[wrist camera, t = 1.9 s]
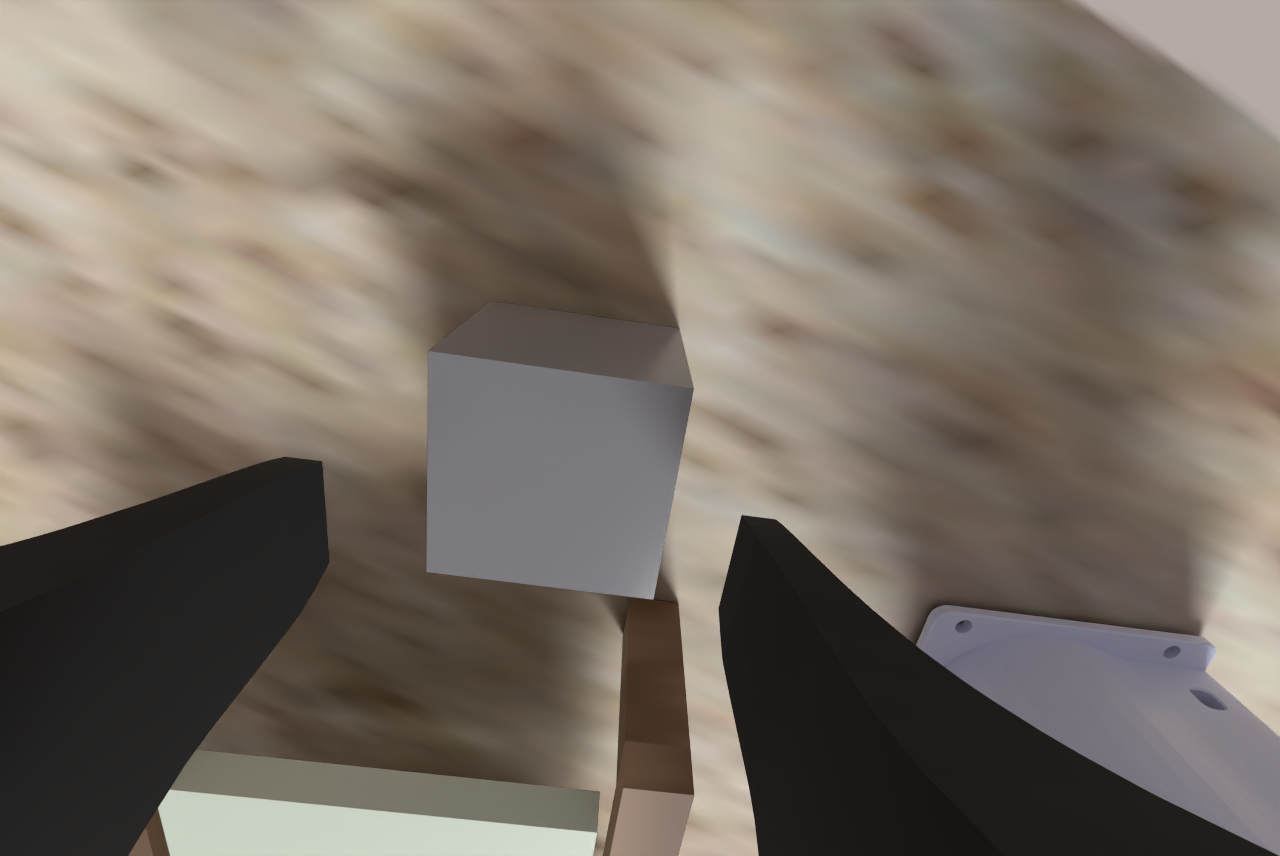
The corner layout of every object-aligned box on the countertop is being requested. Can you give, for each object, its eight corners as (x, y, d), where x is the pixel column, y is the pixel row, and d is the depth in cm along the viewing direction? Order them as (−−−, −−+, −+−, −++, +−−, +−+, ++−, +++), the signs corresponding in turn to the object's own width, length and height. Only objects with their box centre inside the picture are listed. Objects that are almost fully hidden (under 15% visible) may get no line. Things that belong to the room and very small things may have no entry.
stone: (679, 327, 16) (693, 388, 11) (651, 490, 18) (653, 599, 13) (491, 300, 16) (428, 351, 11) (483, 468, 18) (426, 572, 13)
